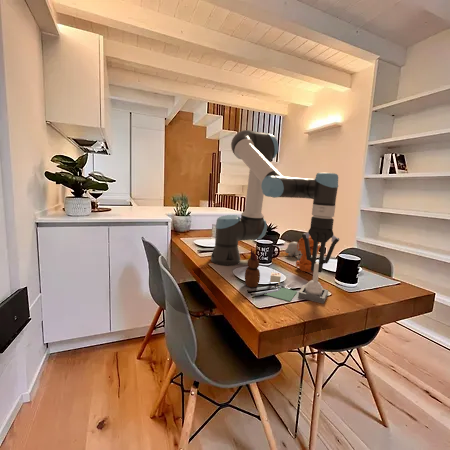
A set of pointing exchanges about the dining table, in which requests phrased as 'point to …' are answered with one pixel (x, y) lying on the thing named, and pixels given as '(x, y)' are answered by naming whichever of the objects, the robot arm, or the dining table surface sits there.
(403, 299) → the dining table surface
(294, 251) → the toy rhinoceros
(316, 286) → the dome
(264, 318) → the dining table surface
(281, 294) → the mat
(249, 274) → the wooden figurine
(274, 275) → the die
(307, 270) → the toy dinosaur
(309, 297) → the button housing
